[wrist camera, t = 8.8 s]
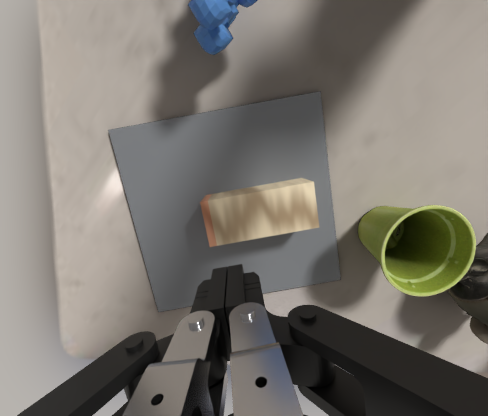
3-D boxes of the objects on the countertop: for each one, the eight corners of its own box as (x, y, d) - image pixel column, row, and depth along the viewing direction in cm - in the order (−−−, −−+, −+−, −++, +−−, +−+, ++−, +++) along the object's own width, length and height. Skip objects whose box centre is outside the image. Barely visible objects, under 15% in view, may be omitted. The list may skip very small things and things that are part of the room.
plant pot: (339, 259, 34) (374, 294, 25) (350, 190, 32) (391, 202, 23) (406, 263, 34) (463, 299, 26) (421, 195, 32) (487, 209, 24)
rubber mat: (110, 130, 30) (108, 129, 29) (319, 92, 29) (320, 91, 29) (159, 309, 34) (158, 312, 34) (339, 277, 34) (340, 279, 34)
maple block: (200, 202, 26) (313, 181, 26) (205, 195, 31) (301, 177, 31) (209, 247, 27) (319, 227, 27) (213, 233, 32) (306, 216, 32)
